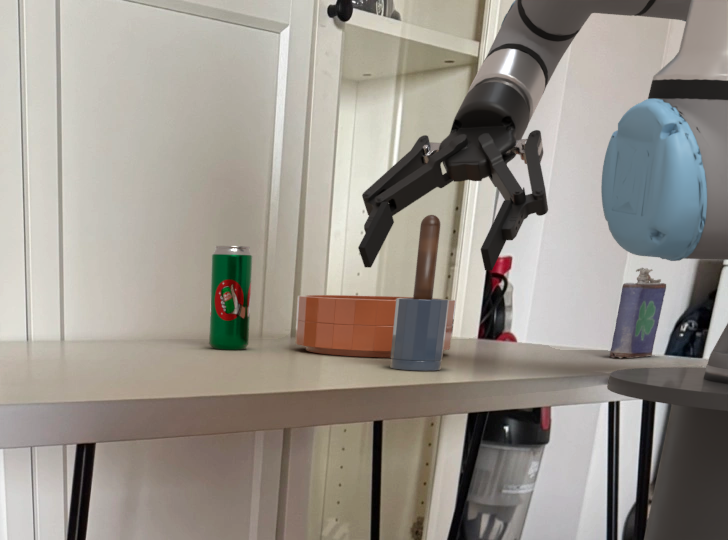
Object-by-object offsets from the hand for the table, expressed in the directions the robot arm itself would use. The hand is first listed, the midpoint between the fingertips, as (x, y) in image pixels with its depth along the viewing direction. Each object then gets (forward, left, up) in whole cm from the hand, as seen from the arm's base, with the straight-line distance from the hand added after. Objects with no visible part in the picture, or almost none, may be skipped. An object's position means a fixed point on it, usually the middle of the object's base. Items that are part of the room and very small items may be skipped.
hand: (423, 259), depth 106 cm
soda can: (+30, -3, -11) cm, 32 cm away
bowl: (+17, -16, -11) cm, 25 cm away
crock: (0, -1, -11) cm, 11 cm away
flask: (-5, -43, -11) cm, 44 cm away
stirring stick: (0, -1, -10) cm, 10 cm away
